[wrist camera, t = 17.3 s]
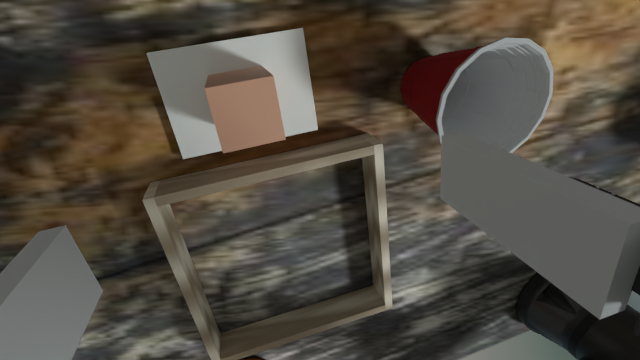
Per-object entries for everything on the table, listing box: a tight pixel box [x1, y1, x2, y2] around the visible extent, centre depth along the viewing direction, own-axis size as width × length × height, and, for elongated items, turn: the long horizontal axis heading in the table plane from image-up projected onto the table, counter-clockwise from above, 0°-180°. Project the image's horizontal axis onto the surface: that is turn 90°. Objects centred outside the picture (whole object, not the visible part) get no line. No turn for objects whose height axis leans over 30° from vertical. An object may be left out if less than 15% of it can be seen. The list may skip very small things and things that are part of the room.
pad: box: [146, 28, 318, 159], centre depth 33 cm, size 10×14×1 cm
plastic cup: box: [401, 38, 554, 153], centre depth 33 cm, size 11×11×12 cm
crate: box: [142, 133, 392, 360], centre depth 40 cm, size 24×24×4 cm
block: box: [204, 66, 286, 153], centre depth 29 cm, size 5×5×8 cm
